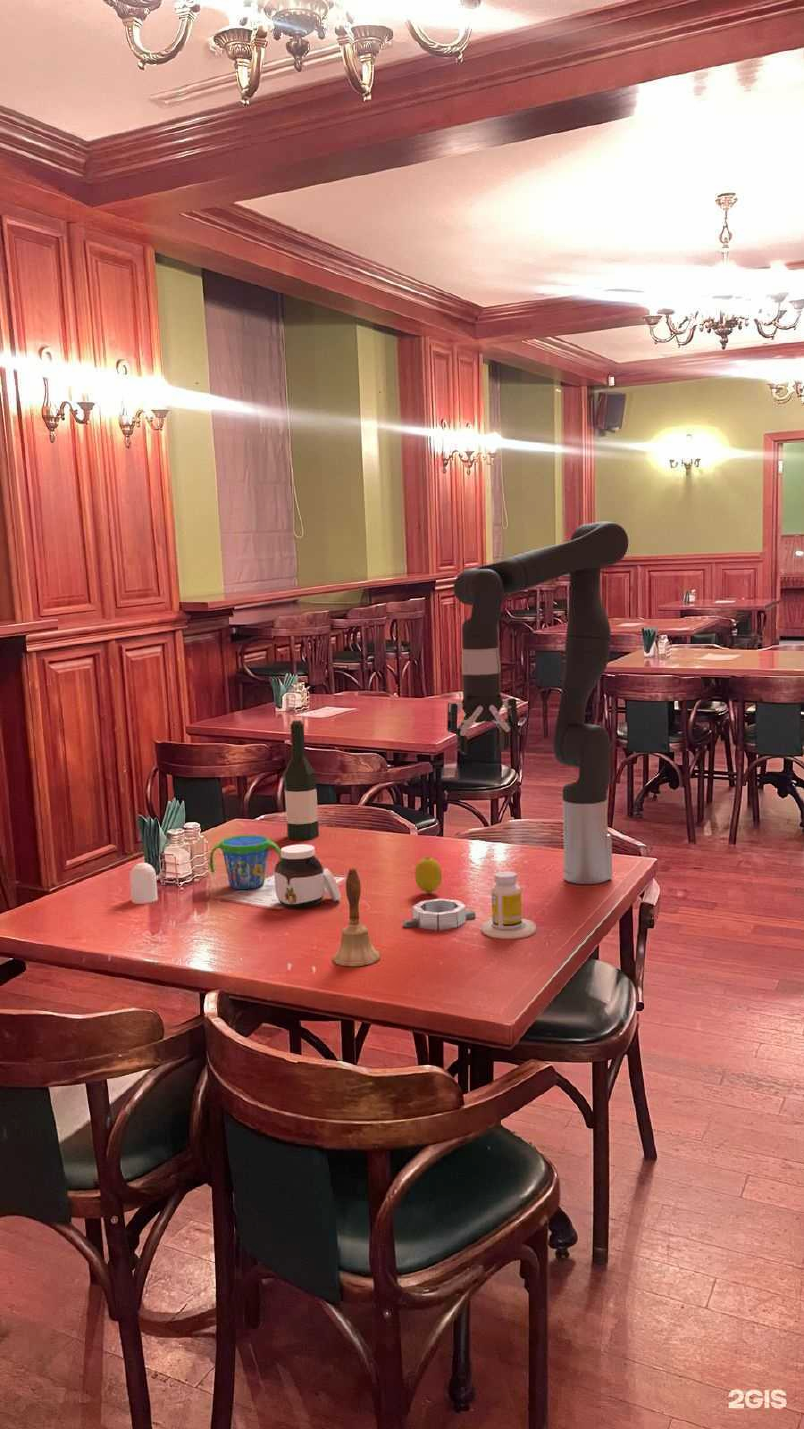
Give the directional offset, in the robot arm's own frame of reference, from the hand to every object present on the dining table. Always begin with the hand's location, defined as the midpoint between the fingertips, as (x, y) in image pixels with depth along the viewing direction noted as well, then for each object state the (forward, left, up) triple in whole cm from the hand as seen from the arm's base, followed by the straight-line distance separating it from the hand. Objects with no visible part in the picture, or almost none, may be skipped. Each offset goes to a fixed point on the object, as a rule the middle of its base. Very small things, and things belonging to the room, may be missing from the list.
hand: (483, 752), depth 221 cm
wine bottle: (+23, -70, -30) cm, 80 cm away
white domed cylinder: (+66, -30, -30) cm, 79 cm away
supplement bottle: (+4, +20, -29) cm, 36 cm away
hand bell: (+34, +23, -30) cm, 51 cm away
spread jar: (+34, -13, -30) cm, 47 cm away
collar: (+14, +10, -30) cm, 35 cm away
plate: (+4, +20, -30) cm, 36 cm away
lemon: (+10, -8, -30) cm, 33 cm away
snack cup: (+44, -31, -30) cm, 62 cm away
